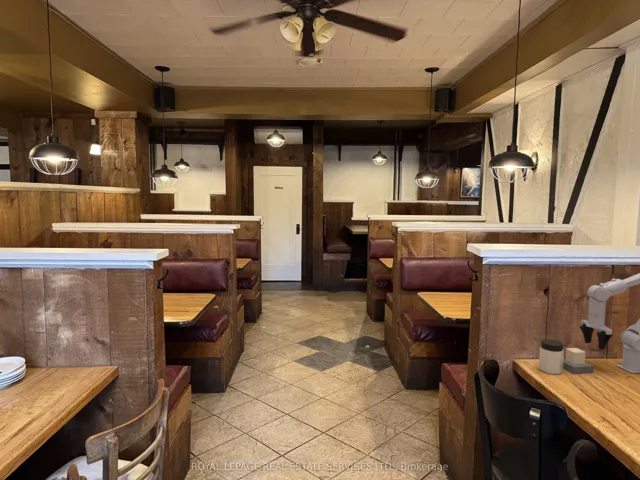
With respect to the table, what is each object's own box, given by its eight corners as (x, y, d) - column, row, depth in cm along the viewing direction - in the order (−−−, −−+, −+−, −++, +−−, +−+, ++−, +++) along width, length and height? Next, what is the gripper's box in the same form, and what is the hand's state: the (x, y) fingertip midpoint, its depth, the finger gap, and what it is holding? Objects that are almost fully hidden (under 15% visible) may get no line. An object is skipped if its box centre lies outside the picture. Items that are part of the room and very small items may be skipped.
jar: (557, 376, 167) (559, 347, 166) (536, 370, 173) (537, 342, 172) (564, 370, 173) (566, 342, 172) (543, 364, 179) (545, 337, 178)
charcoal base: (576, 365, 180) (576, 357, 179) (593, 374, 171) (593, 365, 170) (557, 366, 178) (558, 358, 178) (573, 375, 169) (574, 367, 169)
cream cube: (576, 359, 177) (577, 348, 177) (584, 364, 172) (585, 352, 172) (565, 359, 177) (566, 348, 176) (573, 364, 172) (574, 352, 171)
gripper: (575, 310, 181) (573, 340, 182) (601, 319, 167) (599, 352, 168) (590, 309, 182) (588, 339, 183) (617, 318, 168) (615, 351, 169)
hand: (594, 345), depth 176 cm, fingers open, 7 cm apart
